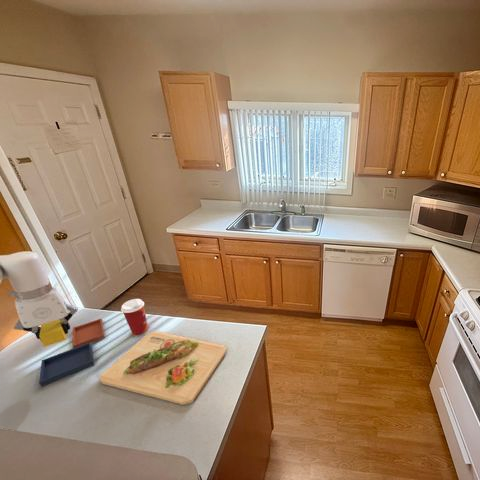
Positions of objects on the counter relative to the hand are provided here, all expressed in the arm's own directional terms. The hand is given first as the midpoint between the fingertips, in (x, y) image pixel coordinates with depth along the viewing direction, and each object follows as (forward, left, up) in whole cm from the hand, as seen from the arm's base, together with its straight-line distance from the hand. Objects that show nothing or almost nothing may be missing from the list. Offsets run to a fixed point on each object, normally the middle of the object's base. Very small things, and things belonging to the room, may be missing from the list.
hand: (55, 334), depth 86 cm
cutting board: (+27, -23, -14) cm, 38 cm away
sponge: (0, 0, -1) cm, 1 cm away
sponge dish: (+6, +13, -13) cm, 20 cm away
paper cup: (+22, +3, -14) cm, 26 cm away
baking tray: (0, -1, -13) cm, 13 cm away
